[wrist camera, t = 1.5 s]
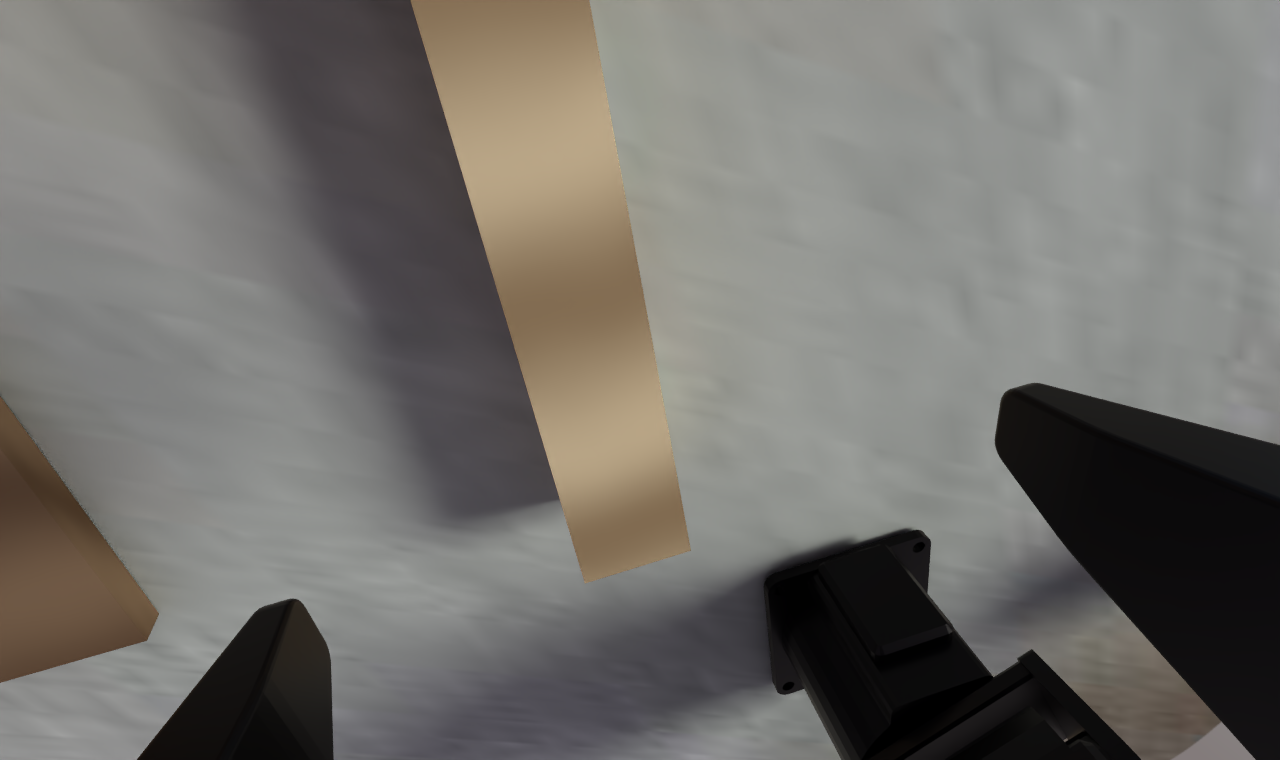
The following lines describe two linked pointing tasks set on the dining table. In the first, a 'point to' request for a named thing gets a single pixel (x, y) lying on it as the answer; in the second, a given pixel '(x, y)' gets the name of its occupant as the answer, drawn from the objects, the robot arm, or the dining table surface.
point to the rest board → (56, 569)
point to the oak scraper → (562, 262)
